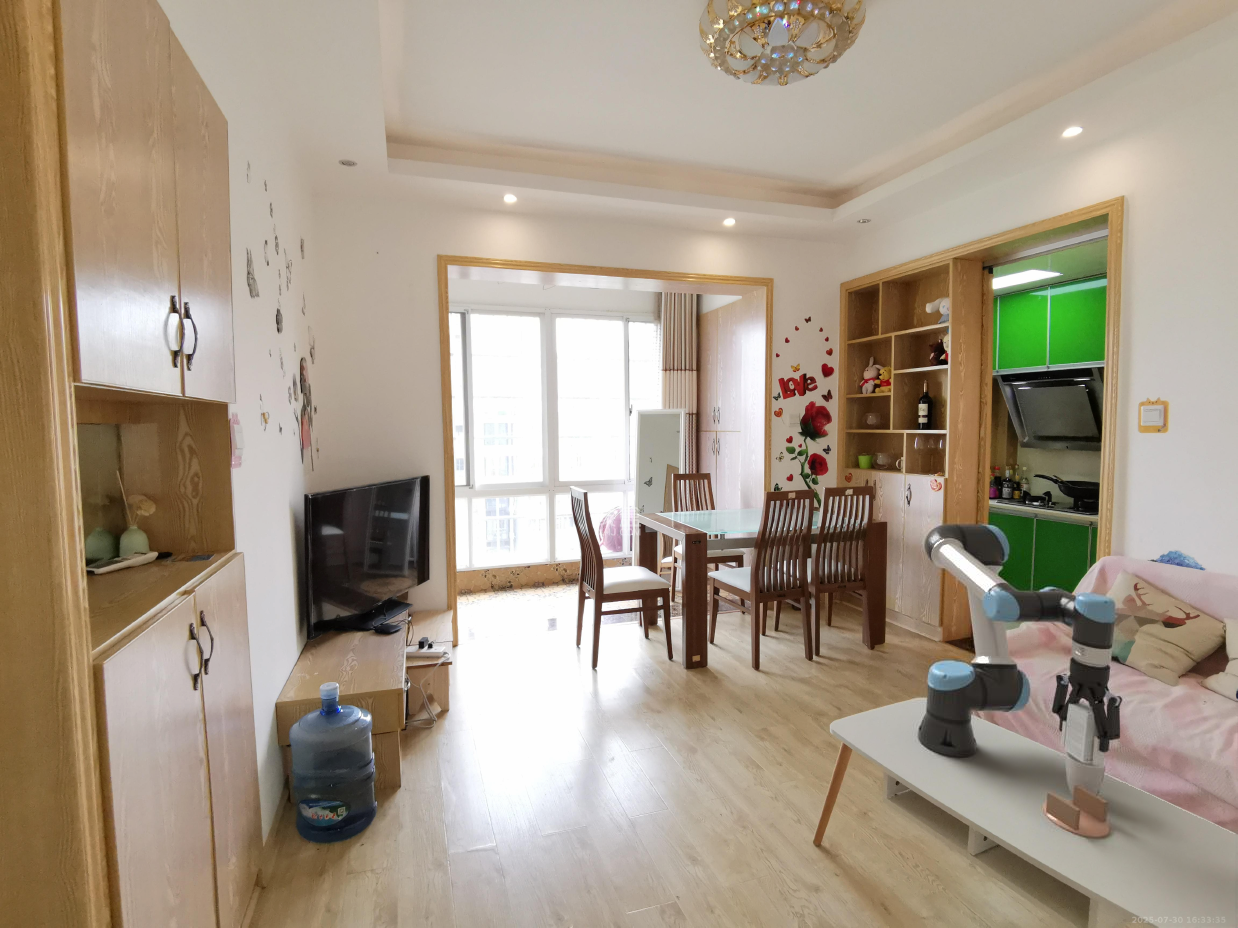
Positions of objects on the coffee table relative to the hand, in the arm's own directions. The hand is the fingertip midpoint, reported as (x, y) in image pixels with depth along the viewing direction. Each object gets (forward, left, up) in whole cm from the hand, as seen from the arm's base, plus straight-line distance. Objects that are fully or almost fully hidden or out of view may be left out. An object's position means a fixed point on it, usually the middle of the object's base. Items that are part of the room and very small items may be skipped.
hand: (1081, 754), depth 150 cm
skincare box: (0, 0, -1) cm, 1 cm away
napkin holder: (0, 0, -16) cm, 16 cm away
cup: (-6, +11, -17) cm, 21 cm away
